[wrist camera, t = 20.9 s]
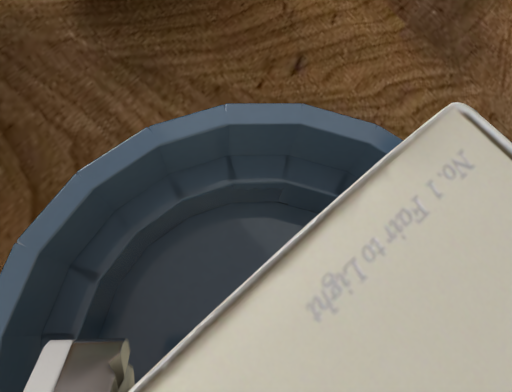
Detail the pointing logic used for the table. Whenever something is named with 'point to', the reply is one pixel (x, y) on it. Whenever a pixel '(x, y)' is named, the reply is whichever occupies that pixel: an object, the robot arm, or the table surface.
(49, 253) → the glazed bowl
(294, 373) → the cosmetic box
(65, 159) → the table surface
